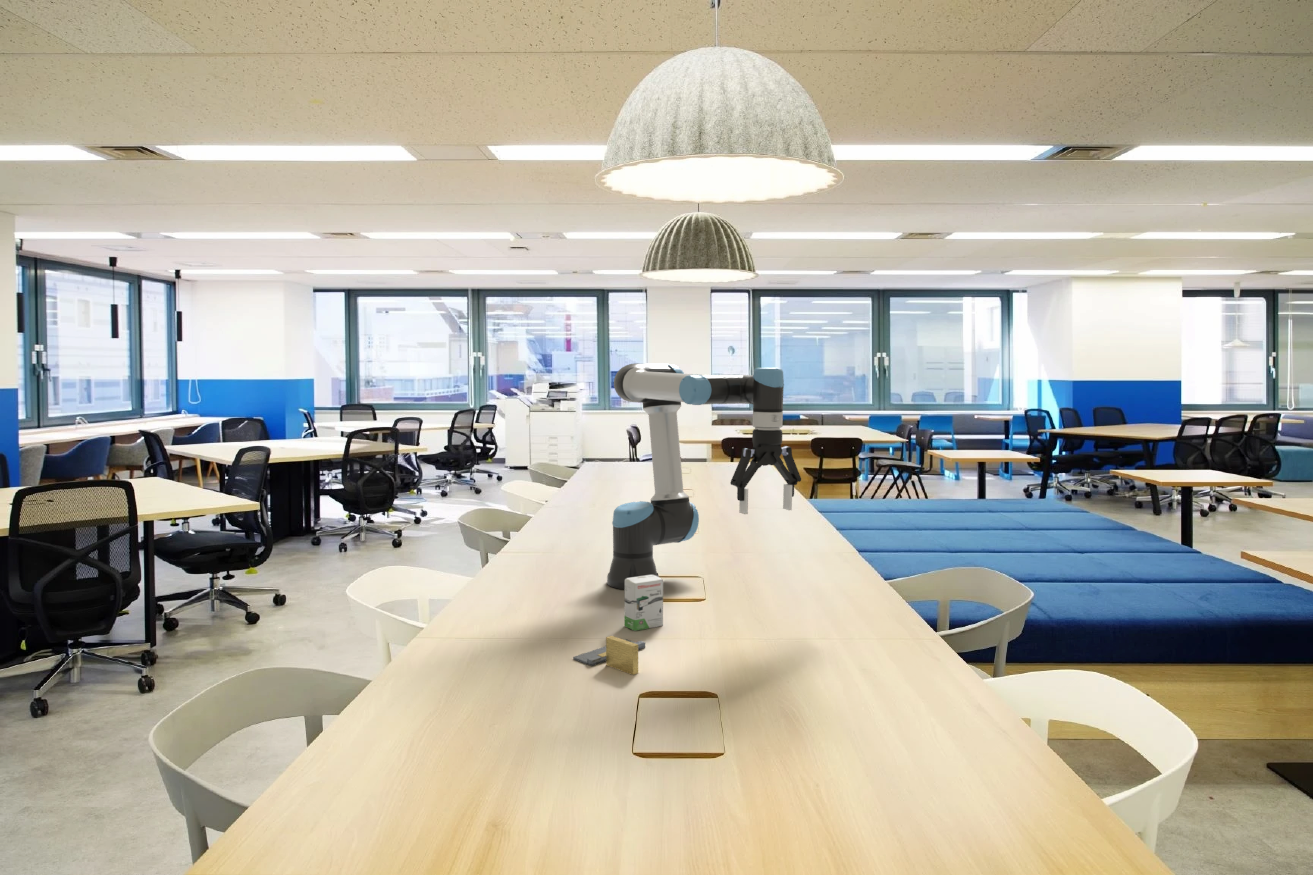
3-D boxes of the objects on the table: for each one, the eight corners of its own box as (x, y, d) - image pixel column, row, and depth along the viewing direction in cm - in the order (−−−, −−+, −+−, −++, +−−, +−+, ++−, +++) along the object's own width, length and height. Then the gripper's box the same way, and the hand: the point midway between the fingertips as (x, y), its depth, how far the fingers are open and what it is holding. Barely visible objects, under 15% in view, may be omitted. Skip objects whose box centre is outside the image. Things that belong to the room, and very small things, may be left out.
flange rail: (573, 659, 172) (572, 631, 172) (626, 641, 184) (626, 615, 183) (624, 678, 162) (624, 649, 161) (677, 658, 173) (677, 631, 173)
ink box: (634, 631, 191) (634, 582, 190) (623, 626, 195) (623, 578, 194) (664, 625, 196) (664, 577, 195) (653, 620, 200) (653, 573, 199)
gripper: (734, 431, 194) (732, 517, 196) (816, 428, 206) (813, 510, 208) (717, 428, 201) (716, 512, 203) (798, 426, 212) (796, 505, 214)
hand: (765, 511), depth 205 cm, fingers open, 13 cm apart
